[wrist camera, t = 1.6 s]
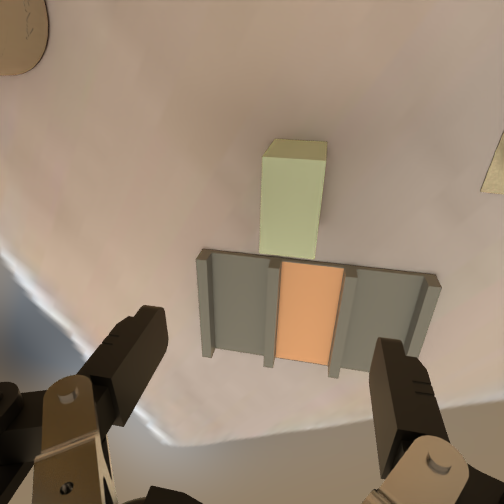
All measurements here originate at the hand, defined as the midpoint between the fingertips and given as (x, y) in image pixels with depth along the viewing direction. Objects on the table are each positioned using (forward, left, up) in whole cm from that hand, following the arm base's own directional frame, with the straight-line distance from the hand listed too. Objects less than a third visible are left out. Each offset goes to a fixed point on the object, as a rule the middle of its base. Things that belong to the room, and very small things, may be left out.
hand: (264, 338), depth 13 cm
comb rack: (+2, -13, -18) cm, 22 cm away
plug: (0, 0, -18) cm, 18 cm away
